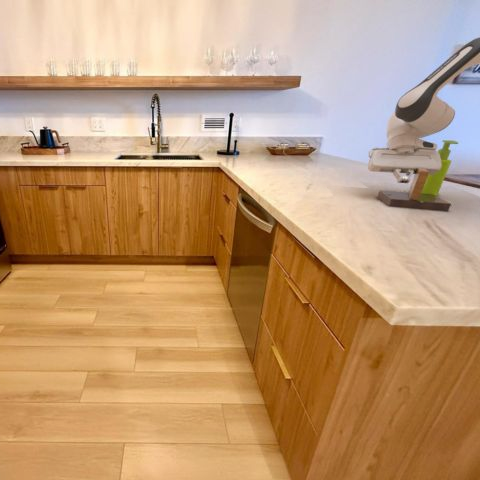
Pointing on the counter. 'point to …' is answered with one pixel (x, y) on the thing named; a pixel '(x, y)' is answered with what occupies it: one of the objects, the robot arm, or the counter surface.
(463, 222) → the counter surface
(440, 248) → the counter surface
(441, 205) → the dark square slab
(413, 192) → the wooden block
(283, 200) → the counter surface
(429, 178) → the soap dispenser
